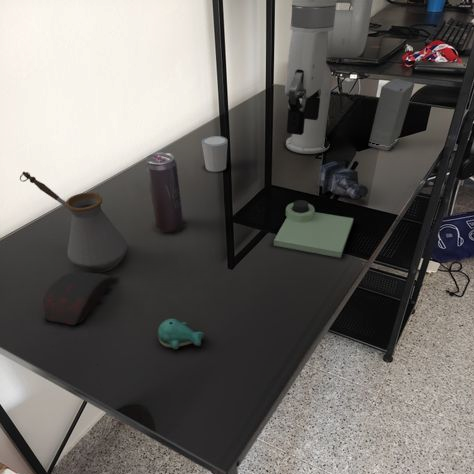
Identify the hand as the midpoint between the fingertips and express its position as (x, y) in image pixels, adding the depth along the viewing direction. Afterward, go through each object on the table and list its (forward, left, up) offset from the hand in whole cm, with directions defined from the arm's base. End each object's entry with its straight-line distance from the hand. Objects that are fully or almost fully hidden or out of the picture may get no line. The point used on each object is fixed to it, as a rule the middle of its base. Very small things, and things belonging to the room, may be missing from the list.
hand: (302, 126), depth 86 cm
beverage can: (+15, -25, -19) cm, 34 cm away
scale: (+8, +6, -19) cm, 21 cm away
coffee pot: (+31, -37, -19) cm, 51 cm away
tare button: (+4, +2, -16) cm, 16 cm away
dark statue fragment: (-12, +8, -19) cm, 24 cm away
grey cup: (-17, -27, -19) cm, 37 cm away
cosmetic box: (-47, +14, -19) cm, 53 cm away
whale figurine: (+47, -7, -19) cm, 51 cm away
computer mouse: (+43, -29, -19) cm, 55 cm away
